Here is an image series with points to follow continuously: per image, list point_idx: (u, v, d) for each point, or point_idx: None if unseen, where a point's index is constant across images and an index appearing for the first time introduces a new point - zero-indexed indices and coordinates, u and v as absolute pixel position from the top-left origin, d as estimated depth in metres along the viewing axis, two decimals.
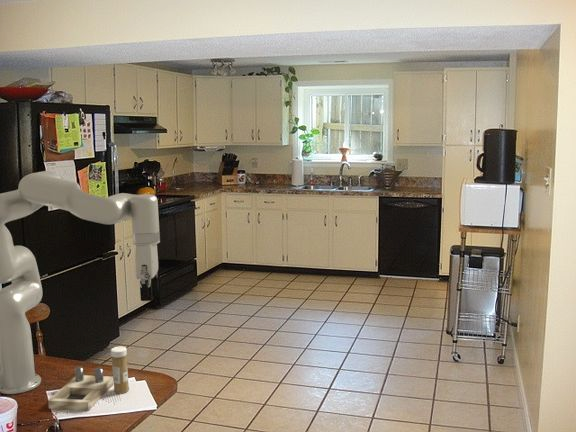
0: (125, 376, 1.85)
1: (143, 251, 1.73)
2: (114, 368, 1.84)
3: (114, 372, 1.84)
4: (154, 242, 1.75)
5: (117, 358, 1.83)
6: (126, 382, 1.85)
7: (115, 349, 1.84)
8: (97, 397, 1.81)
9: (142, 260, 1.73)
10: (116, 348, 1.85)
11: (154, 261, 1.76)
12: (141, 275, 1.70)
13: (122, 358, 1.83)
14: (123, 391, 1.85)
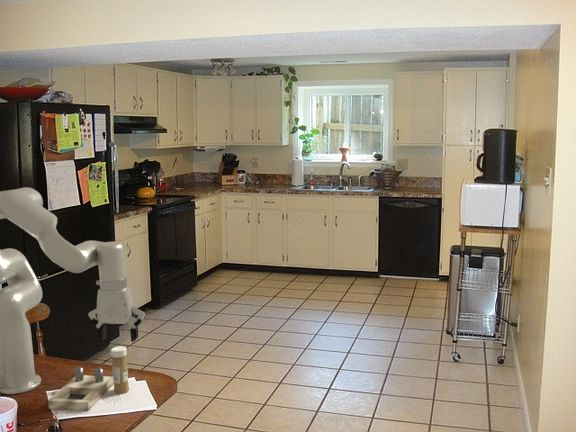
0: (125, 376, 1.85)
1: (129, 293, 1.81)
2: (114, 368, 1.84)
3: (114, 372, 1.84)
4: None
5: (117, 358, 1.83)
6: (126, 382, 1.85)
7: (115, 349, 1.84)
8: (97, 397, 1.81)
9: (130, 302, 1.81)
10: (116, 348, 1.85)
11: None
12: (143, 313, 1.81)
13: (122, 358, 1.83)
14: (123, 391, 1.85)
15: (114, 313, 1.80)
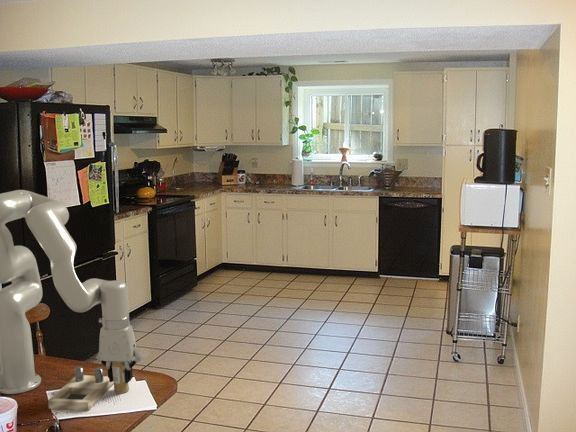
0: None
1: (132, 332, 1.83)
2: (114, 368, 1.84)
3: (114, 372, 1.84)
4: None
5: None
6: None
7: None
8: (97, 397, 1.81)
9: (133, 341, 1.83)
10: None
11: None
12: (141, 358, 1.84)
13: None
14: (123, 391, 1.85)
15: (116, 351, 1.82)
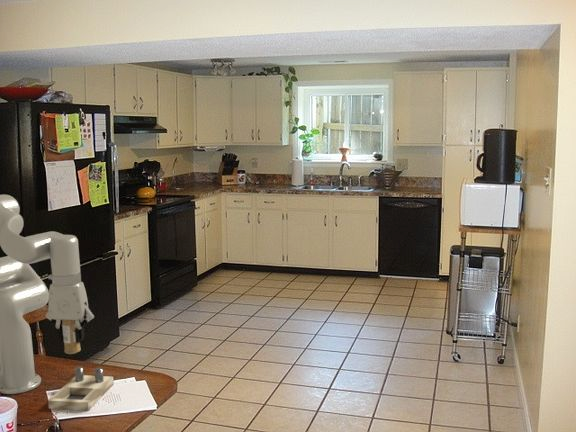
0: None
1: (83, 289, 1.74)
2: (64, 327, 1.75)
3: (64, 331, 1.75)
4: None
5: None
6: None
7: None
8: (97, 397, 1.81)
9: (84, 298, 1.74)
10: None
11: None
12: (92, 317, 1.75)
13: None
14: (74, 351, 1.76)
15: (66, 309, 1.73)
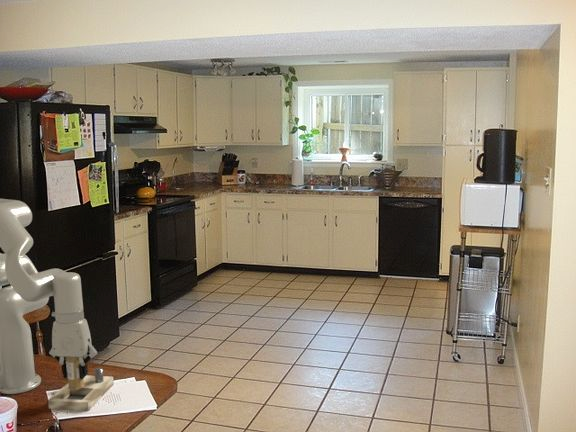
0: None
1: (86, 326, 1.76)
2: (67, 363, 1.76)
3: (68, 368, 1.77)
4: None
5: None
6: None
7: None
8: (97, 397, 1.81)
9: (87, 335, 1.76)
10: None
11: None
12: (96, 353, 1.76)
13: None
14: (77, 387, 1.78)
15: (69, 346, 1.75)
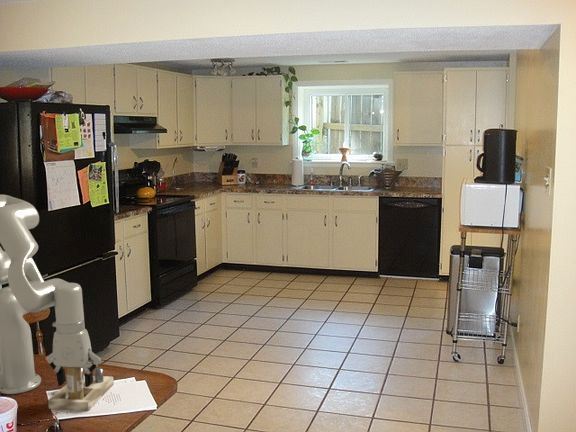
0: (79, 385, 1.79)
1: (86, 336, 1.76)
2: (68, 376, 1.77)
3: (68, 380, 1.78)
4: None
5: None
6: (81, 391, 1.79)
7: None
8: (97, 397, 1.81)
9: (87, 345, 1.76)
10: None
11: None
12: (99, 359, 1.77)
13: None
14: None
15: (70, 357, 1.75)
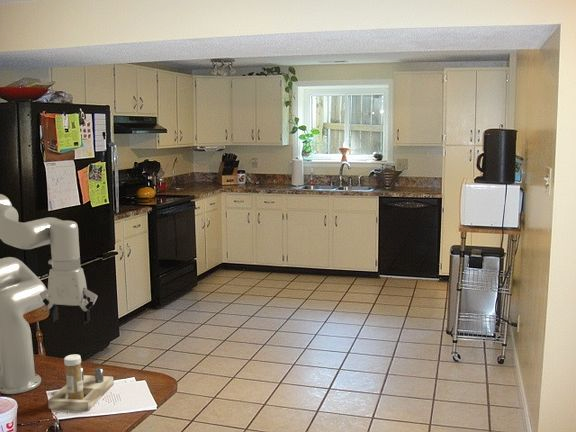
0: (79, 385, 1.78)
1: (82, 275, 1.75)
2: (68, 377, 1.77)
3: (68, 381, 1.78)
4: None
5: (71, 367, 1.76)
6: (81, 391, 1.79)
7: (68, 357, 1.78)
8: (97, 397, 1.81)
9: (83, 284, 1.75)
10: (70, 356, 1.78)
11: None
12: (95, 296, 1.75)
13: (76, 366, 1.77)
14: None
15: (65, 294, 1.74)
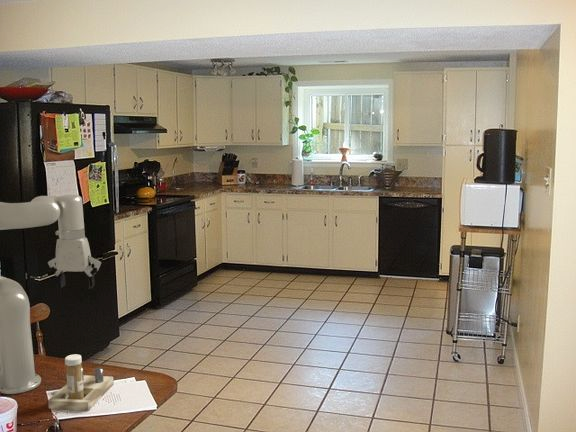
0: (80, 385, 1.78)
1: (86, 243, 1.93)
2: (68, 377, 1.77)
3: (68, 381, 1.78)
4: None
5: (71, 367, 1.76)
6: (81, 391, 1.79)
7: (69, 357, 1.78)
8: (97, 397, 1.81)
9: (87, 252, 1.93)
10: (70, 356, 1.79)
11: None
12: (99, 262, 1.93)
13: (76, 366, 1.77)
14: None
15: (71, 261, 1.92)
